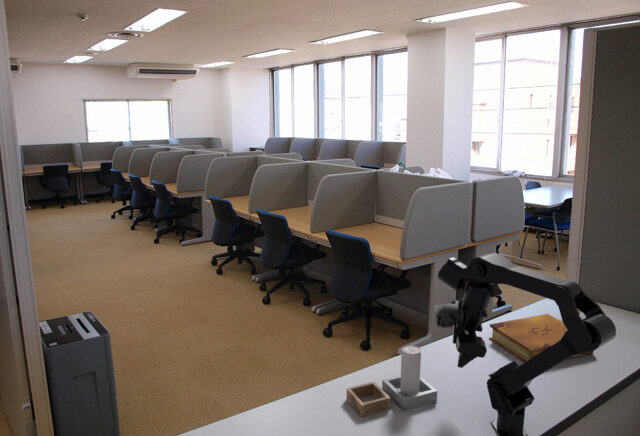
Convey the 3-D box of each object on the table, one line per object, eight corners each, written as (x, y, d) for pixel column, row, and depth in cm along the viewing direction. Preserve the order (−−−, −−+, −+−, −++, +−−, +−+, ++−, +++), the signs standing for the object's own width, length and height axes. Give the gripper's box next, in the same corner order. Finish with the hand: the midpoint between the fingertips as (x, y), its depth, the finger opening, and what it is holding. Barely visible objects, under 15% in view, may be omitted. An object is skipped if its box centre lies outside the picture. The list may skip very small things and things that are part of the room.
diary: (531, 370, 142) (533, 351, 141) (488, 341, 159) (490, 324, 158) (593, 355, 149) (595, 337, 148) (546, 329, 167) (547, 313, 165)
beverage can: (409, 385, 132) (411, 343, 129) (423, 393, 128) (425, 350, 125) (396, 391, 129) (397, 348, 126) (409, 399, 125) (411, 356, 122)
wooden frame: (390, 408, 123) (390, 397, 123) (361, 416, 120) (361, 405, 119) (374, 391, 130) (374, 381, 130) (346, 399, 127) (346, 388, 127)
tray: (436, 401, 126) (437, 390, 125) (403, 411, 122) (403, 400, 122) (414, 381, 135) (414, 371, 134) (382, 389, 131) (382, 379, 130)
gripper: (437, 275, 127) (422, 326, 133) (445, 318, 110) (427, 373, 116) (481, 284, 126) (464, 334, 132) (496, 328, 109) (475, 383, 115)
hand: (457, 354), depth 124 cm, fingers open, 9 cm apart
